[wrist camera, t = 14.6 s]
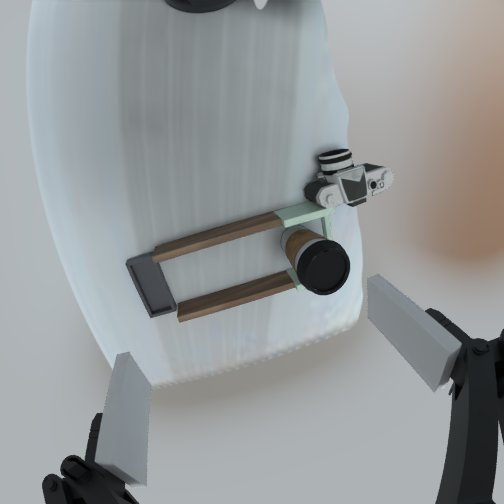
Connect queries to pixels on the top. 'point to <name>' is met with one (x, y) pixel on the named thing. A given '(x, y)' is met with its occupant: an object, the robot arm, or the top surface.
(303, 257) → the coffee cup
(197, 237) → the channel
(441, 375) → the robot arm
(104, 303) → the top surface
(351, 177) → the camera
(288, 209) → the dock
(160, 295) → the tray
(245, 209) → the top surface
